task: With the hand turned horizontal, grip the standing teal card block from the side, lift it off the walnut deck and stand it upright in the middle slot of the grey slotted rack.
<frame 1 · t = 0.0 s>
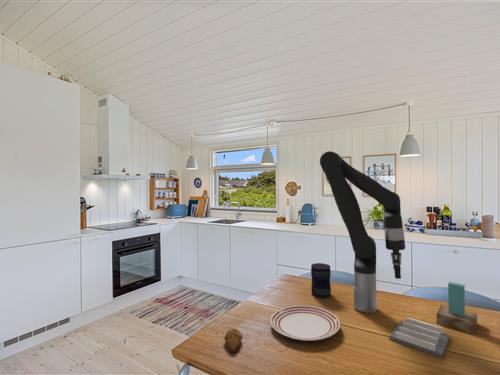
hand: (398, 275, 117), 17 cm above the table, tool pointing down, fingers open, 8 cm apart
storage jar: (321, 294, 141), on the table
brown oval lump: (233, 344, 99), on the table
slotted rack: (419, 338, 99), on the table
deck: (456, 323, 109), on the table
card block: (456, 313, 109), point 4 cm above the table, touching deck
dinner plate: (304, 328, 109), on the table
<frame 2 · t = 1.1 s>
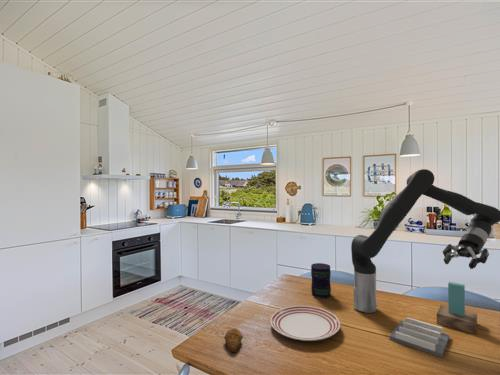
hand: (457, 264, 107), 24 cm above the table, tool tilted 60°, fingers open, 8 cm apart
nothing on the table moved.
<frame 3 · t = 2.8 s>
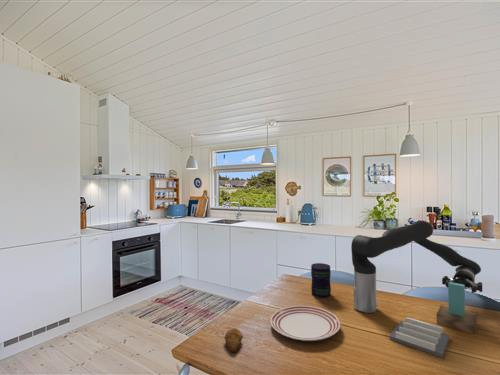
hand: (460, 288, 117), 11 cm above the table, tool horizontal, fingers open, 8 cm apart
nothing on the table moved.
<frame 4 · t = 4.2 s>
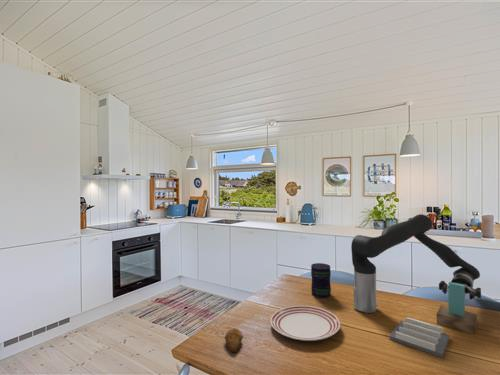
hand: (457, 294, 112), 11 cm above the table, tool horizontal, fingers open, 8 cm apart
nothing on the table moved.
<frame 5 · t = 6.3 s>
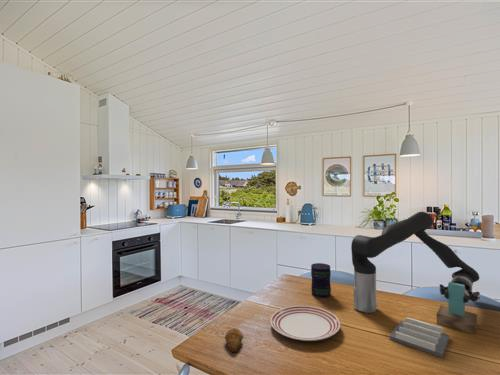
hand: (455, 298, 107), 11 cm above the table, tool horizontal, fingers closed on card block, 5 cm apart
card block: (456, 313, 109), point 4 cm above the table, touching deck, gripper
everything else where it was.
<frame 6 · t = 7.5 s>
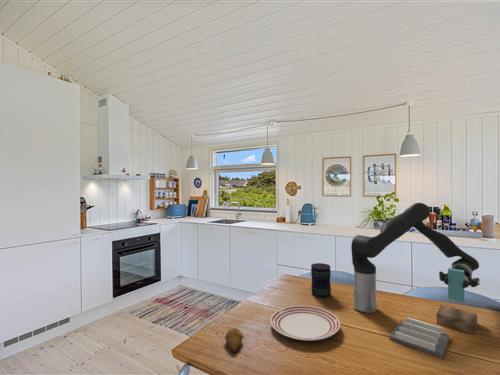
hand: (455, 283, 107), 17 cm above the table, tool horizontal, fingers closed on card block, 5 cm apart
card block: (456, 299, 109), point 10 cm above the table, touching gripper
everything else where it was.
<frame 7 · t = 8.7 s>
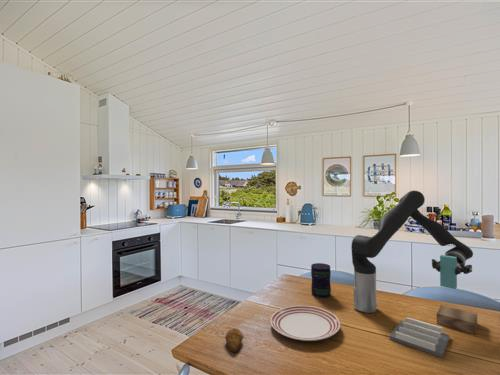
hand: (447, 270, 105), 23 cm above the table, tool horizontal, fingers closed on card block, 5 cm apart
card block: (448, 286, 107), point 16 cm above the table, touching gripper
everything else where it was.
when the fingers open (9 cm above the table, at t = 13.4 s): card block stays where it is, resting on slotted rack.
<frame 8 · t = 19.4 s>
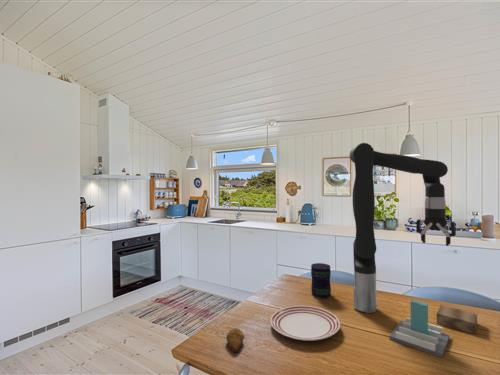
hand: (435, 244, 119), 30 cm above the table, tool pointing down, fingers open, 8 cm apart
card block: (419, 335, 99), point 1 cm above the table, touching slotted rack
everything else where it was.
at the end: card block 0.1 cm off-centre on the slotted rack, point 1.2 cm above the slotted rack's base; card block tilted 0°; the gripper is holding nothing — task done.
